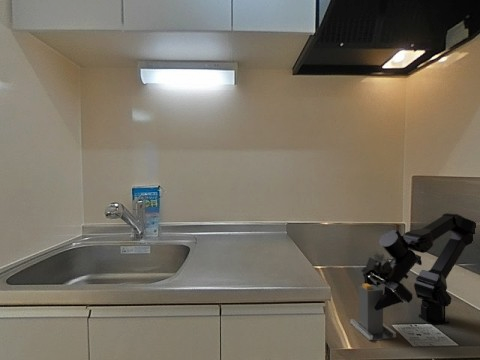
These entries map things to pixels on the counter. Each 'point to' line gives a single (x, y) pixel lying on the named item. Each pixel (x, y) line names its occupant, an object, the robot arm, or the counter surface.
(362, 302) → the block
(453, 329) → the counter surface
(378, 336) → the rail seat
